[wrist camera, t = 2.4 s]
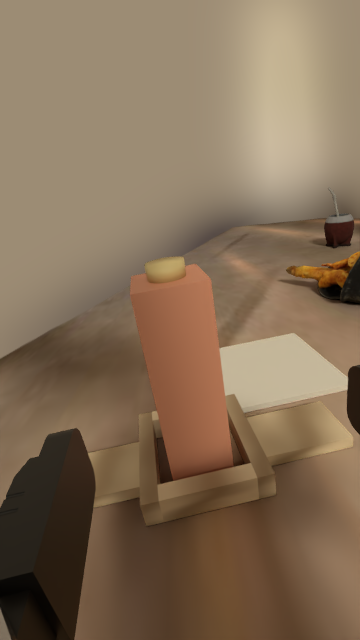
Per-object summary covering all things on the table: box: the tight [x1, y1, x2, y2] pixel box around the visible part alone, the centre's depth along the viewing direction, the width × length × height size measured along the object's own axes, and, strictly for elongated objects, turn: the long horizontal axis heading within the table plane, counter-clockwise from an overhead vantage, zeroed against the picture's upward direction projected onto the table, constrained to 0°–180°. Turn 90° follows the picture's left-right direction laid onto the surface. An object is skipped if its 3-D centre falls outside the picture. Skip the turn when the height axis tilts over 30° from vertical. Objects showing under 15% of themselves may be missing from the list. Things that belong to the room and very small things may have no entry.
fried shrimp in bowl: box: [286, 252, 360, 303], centre depth 49 cm, size 9×11×18 cm
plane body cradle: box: [88, 394, 353, 526], centre depth 24 cm, size 23×9×2 cm, turn 98°
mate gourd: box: [324, 188, 354, 248], centre depth 81 cm, size 8×8×15 cm
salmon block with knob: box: [130, 257, 234, 481], centre depth 21 cm, size 4×4×16 cm
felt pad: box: [219, 333, 348, 413], centre depth 34 cm, size 12×12×1 cm
